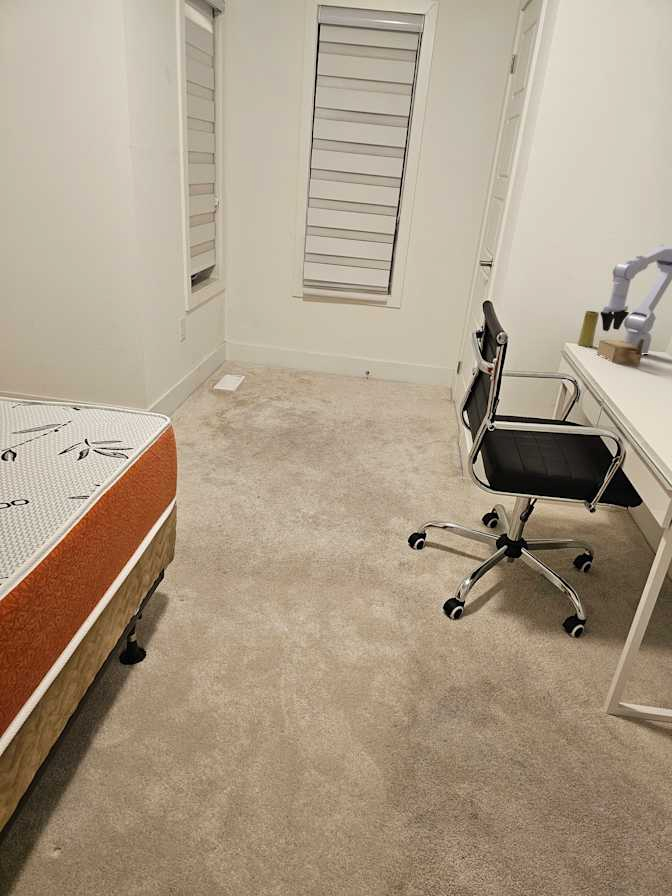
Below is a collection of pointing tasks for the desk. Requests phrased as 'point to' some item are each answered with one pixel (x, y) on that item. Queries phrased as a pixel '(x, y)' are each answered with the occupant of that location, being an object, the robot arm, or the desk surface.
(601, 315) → the robot arm
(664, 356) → the desk surface
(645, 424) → the desk surface
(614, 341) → the carton
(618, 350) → the wooden paddle
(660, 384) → the desk surface
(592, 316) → the vase
